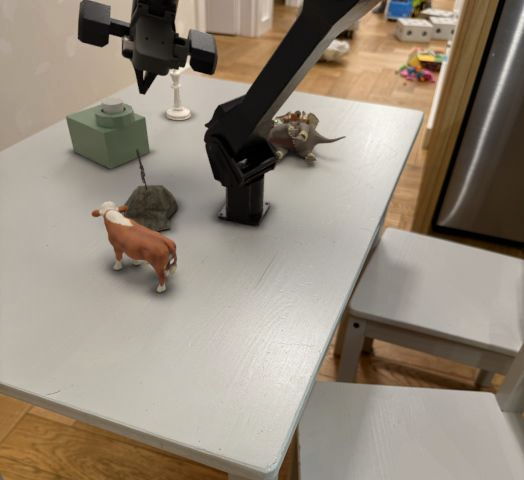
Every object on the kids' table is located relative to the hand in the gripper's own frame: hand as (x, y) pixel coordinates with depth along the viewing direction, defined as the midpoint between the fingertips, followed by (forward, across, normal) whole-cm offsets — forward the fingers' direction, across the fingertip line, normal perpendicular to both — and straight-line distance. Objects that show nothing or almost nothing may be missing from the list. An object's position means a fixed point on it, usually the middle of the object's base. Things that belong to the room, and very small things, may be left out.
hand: (142, 92), depth 76 cm
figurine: (+8, +28, +5) cm, 30 cm away
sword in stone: (+8, +2, -18) cm, 19 cm away
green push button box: (+16, -3, +4) cm, 16 cm away
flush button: (+8, -4, +4) cm, 9 cm away
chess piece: (+17, +10, +19) cm, 28 cm away
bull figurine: (+4, 0, -31) cm, 31 cm away
